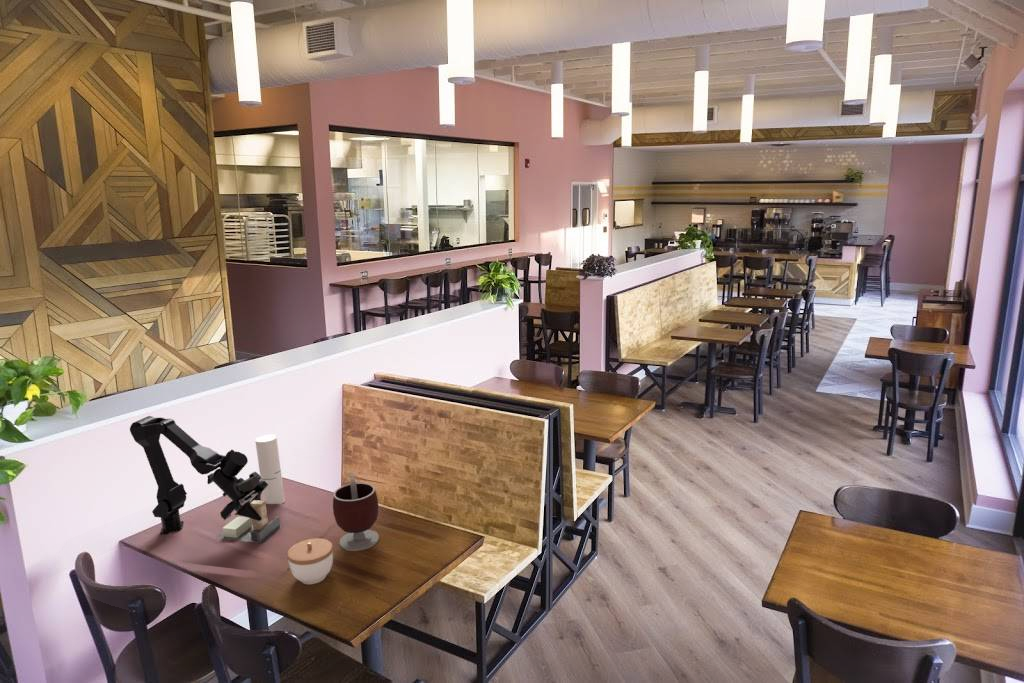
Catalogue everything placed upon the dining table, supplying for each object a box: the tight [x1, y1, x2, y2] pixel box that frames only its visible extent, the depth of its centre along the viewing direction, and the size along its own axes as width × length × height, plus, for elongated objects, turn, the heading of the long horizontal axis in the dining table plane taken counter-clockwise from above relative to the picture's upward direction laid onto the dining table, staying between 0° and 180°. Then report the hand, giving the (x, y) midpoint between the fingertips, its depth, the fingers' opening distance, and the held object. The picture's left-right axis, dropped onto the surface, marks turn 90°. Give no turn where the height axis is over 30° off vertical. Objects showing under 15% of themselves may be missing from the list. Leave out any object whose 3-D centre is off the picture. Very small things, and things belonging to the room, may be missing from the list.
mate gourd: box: [332, 472, 380, 552], centre depth 216 cm, size 16×14×20 cm
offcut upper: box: [222, 515, 252, 534], centre depth 224 cm, size 5×8×2 cm, turn 165°
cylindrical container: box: [254, 434, 286, 505], centre depth 244 cm, size 7×7×25 cm
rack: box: [214, 516, 283, 544], centre depth 223 cm, size 18×11×5 cm, turn 75°
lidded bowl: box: [286, 537, 334, 585], centre depth 197 cm, size 13×13×11 cm
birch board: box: [250, 499, 269, 530], centre depth 221 cm, size 4×2×11 cm, turn 75°
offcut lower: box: [222, 521, 252, 538], centre depth 224 cm, size 5×8×2 cm, turn 165°
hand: (263, 517), depth 220 cm, fingers closed on birch board, 2 cm apart
